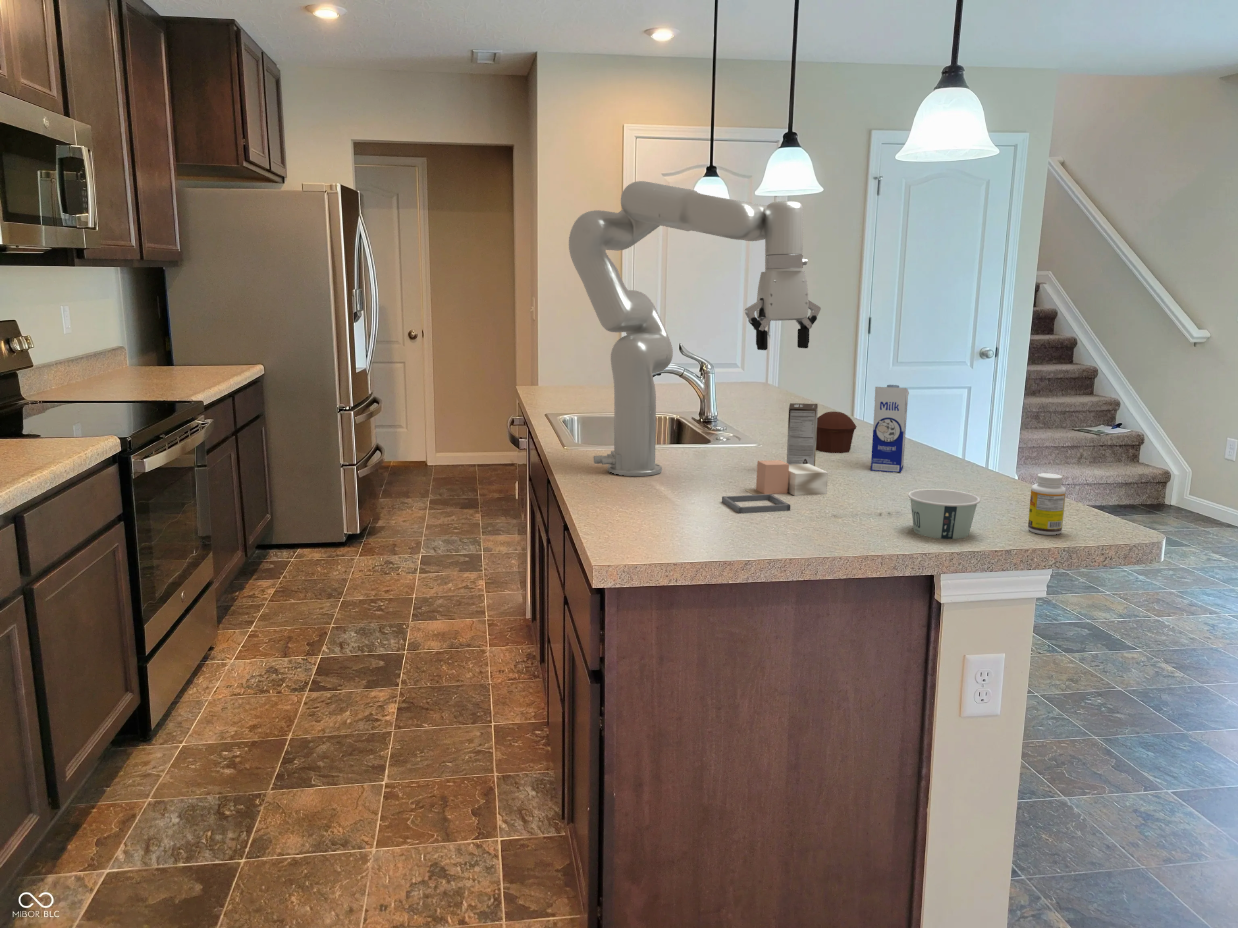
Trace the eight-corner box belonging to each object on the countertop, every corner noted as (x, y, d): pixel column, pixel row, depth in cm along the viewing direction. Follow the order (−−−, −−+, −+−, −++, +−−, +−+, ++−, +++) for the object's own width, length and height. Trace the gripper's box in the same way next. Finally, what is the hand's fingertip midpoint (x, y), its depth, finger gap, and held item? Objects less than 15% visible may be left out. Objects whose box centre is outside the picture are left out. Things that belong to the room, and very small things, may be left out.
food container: (989, 540, 155) (993, 503, 154) (921, 542, 154) (924, 504, 153) (958, 522, 167) (961, 488, 166) (895, 523, 166) (897, 488, 165)
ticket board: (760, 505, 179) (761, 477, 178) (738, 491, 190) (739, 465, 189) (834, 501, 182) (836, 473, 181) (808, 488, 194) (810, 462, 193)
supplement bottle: (1032, 525, 165) (1037, 470, 163) (1065, 531, 161) (1071, 475, 159) (1023, 532, 160) (1028, 475, 158) (1056, 537, 157) (1062, 480, 155)
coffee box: (786, 470, 212) (789, 402, 209) (814, 471, 211) (817, 403, 208) (785, 478, 203) (788, 407, 200) (814, 480, 202) (818, 408, 199)
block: (764, 494, 183) (765, 464, 182) (755, 489, 187) (757, 460, 186) (787, 493, 184) (789, 464, 183) (778, 488, 188) (780, 460, 187)
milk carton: (869, 470, 213) (874, 385, 209) (873, 465, 219) (878, 382, 215) (901, 473, 210) (907, 387, 206) (904, 467, 216) (909, 384, 212)
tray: (738, 519, 168) (739, 507, 167) (721, 508, 177) (722, 496, 176) (789, 516, 170) (790, 504, 170) (770, 505, 179) (771, 493, 178)
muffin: (859, 454, 233) (861, 416, 231) (816, 454, 233) (818, 415, 231) (848, 446, 245) (850, 409, 243) (807, 446, 245) (809, 409, 243)
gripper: (809, 264, 191) (808, 346, 194) (737, 265, 185) (736, 349, 188) (830, 263, 184) (828, 348, 187) (755, 264, 178) (754, 351, 181)
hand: (782, 348), depth 188 cm, fingers open, 9 cm apart
